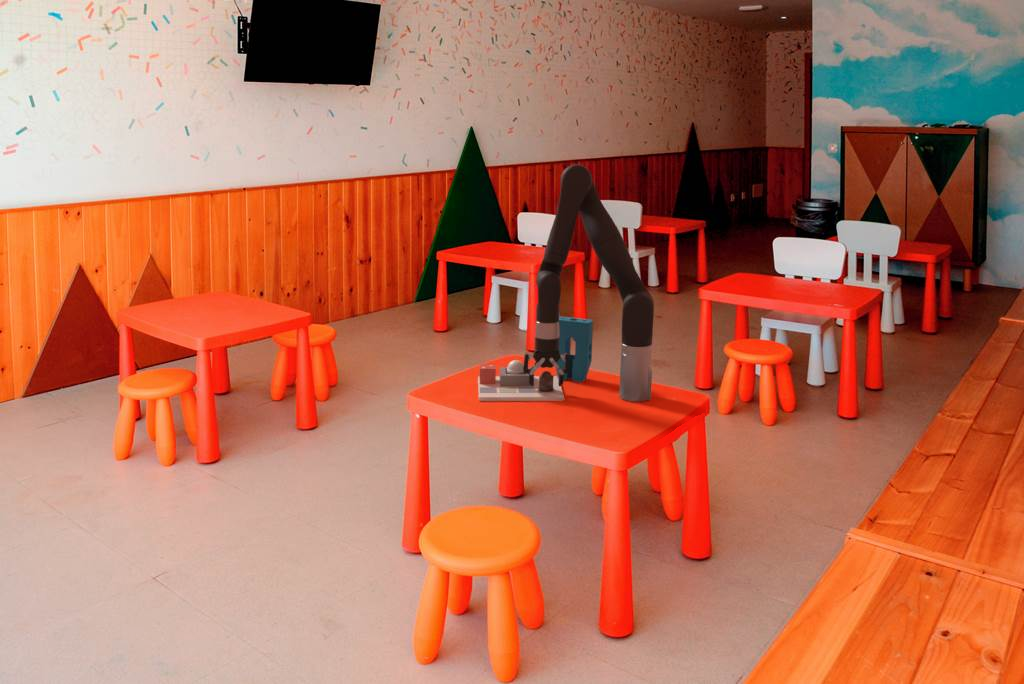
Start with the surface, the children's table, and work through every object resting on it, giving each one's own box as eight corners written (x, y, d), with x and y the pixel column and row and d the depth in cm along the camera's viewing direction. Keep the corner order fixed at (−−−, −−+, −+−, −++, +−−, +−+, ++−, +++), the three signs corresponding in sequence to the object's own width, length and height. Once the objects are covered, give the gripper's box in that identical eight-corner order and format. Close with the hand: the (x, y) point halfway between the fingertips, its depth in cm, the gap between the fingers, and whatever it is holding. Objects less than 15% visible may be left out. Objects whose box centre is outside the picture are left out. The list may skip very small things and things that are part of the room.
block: (591, 379, 298) (593, 320, 293) (586, 383, 294) (588, 323, 289) (557, 374, 303) (559, 316, 298) (552, 378, 299) (553, 319, 294)
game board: (557, 379, 297) (557, 375, 297) (564, 400, 276) (564, 396, 276) (477, 379, 296) (477, 376, 296) (478, 401, 275) (478, 396, 274)
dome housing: (530, 377, 296) (530, 366, 295) (532, 386, 286) (532, 375, 285) (499, 377, 295) (499, 366, 294) (500, 386, 285) (500, 375, 285)
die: (495, 379, 293) (495, 364, 291) (495, 384, 288) (495, 368, 286) (479, 379, 292) (479, 364, 291) (479, 384, 287) (479, 368, 286)
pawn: (552, 387, 284) (553, 369, 283) (553, 391, 280) (554, 373, 279) (538, 387, 284) (539, 369, 283) (539, 391, 280) (539, 373, 279)
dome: (523, 373, 293) (524, 357, 292) (524, 378, 287) (525, 362, 286) (506, 373, 293) (506, 357, 291) (507, 378, 287) (507, 362, 286)
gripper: (569, 332, 282) (567, 382, 286) (523, 332, 281) (522, 382, 285) (571, 338, 275) (570, 389, 279) (524, 338, 274) (523, 389, 278)
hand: (546, 385), depth 282 cm, fingers open, 8 cm apart
